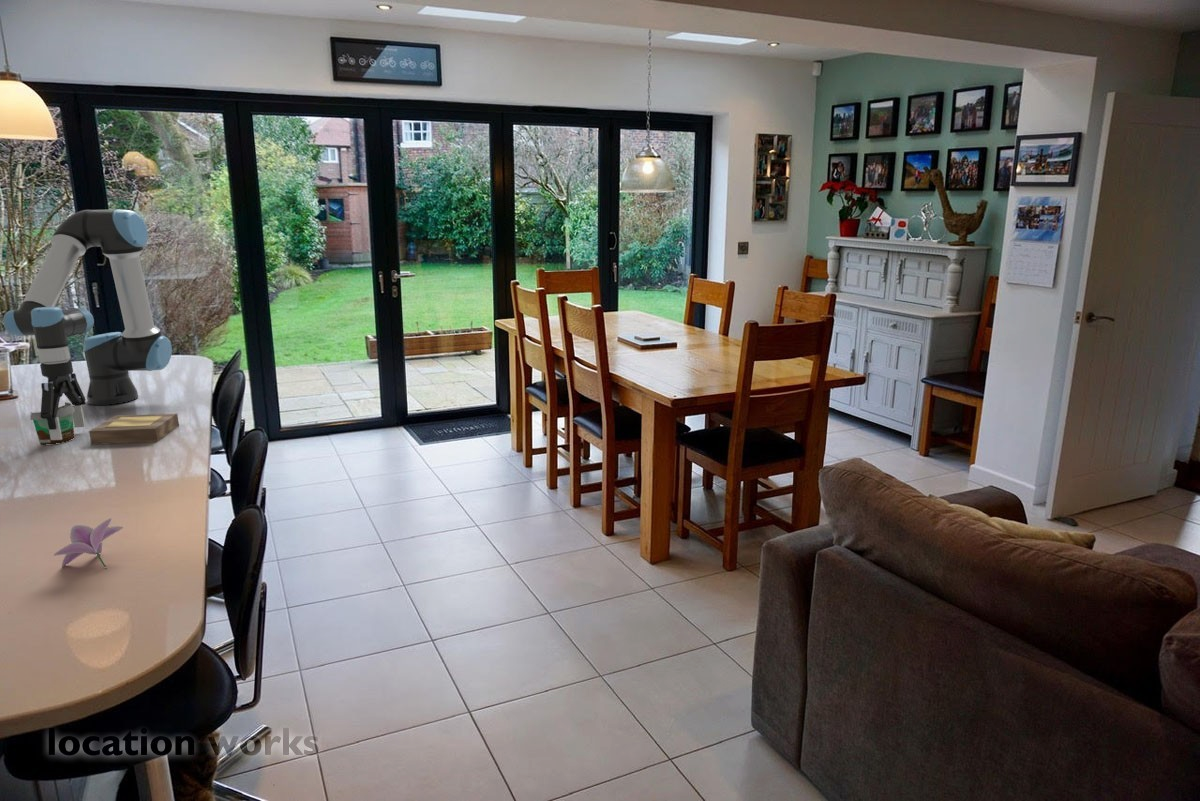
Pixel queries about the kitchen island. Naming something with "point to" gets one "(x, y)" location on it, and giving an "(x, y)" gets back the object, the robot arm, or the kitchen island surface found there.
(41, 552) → the kitchen island surface
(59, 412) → the food container
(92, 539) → the lily
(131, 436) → the plate
